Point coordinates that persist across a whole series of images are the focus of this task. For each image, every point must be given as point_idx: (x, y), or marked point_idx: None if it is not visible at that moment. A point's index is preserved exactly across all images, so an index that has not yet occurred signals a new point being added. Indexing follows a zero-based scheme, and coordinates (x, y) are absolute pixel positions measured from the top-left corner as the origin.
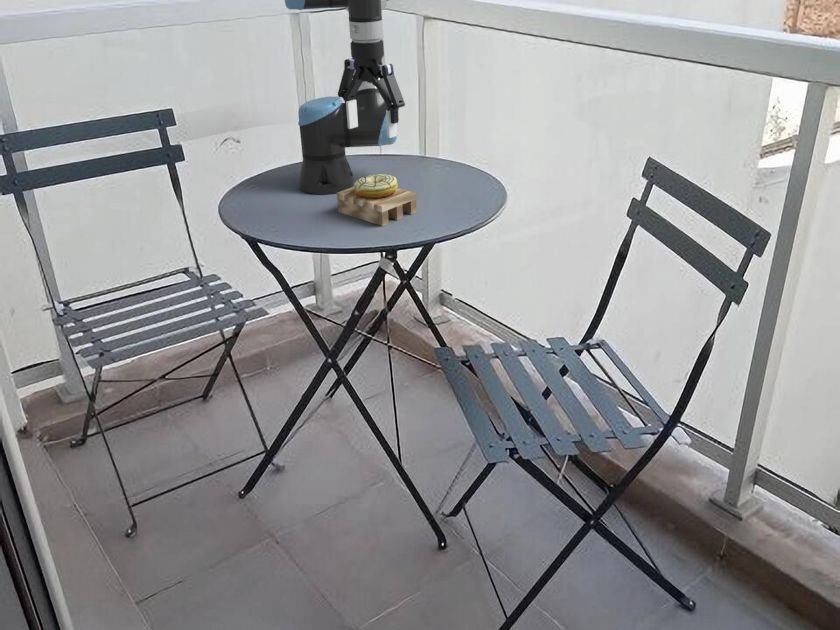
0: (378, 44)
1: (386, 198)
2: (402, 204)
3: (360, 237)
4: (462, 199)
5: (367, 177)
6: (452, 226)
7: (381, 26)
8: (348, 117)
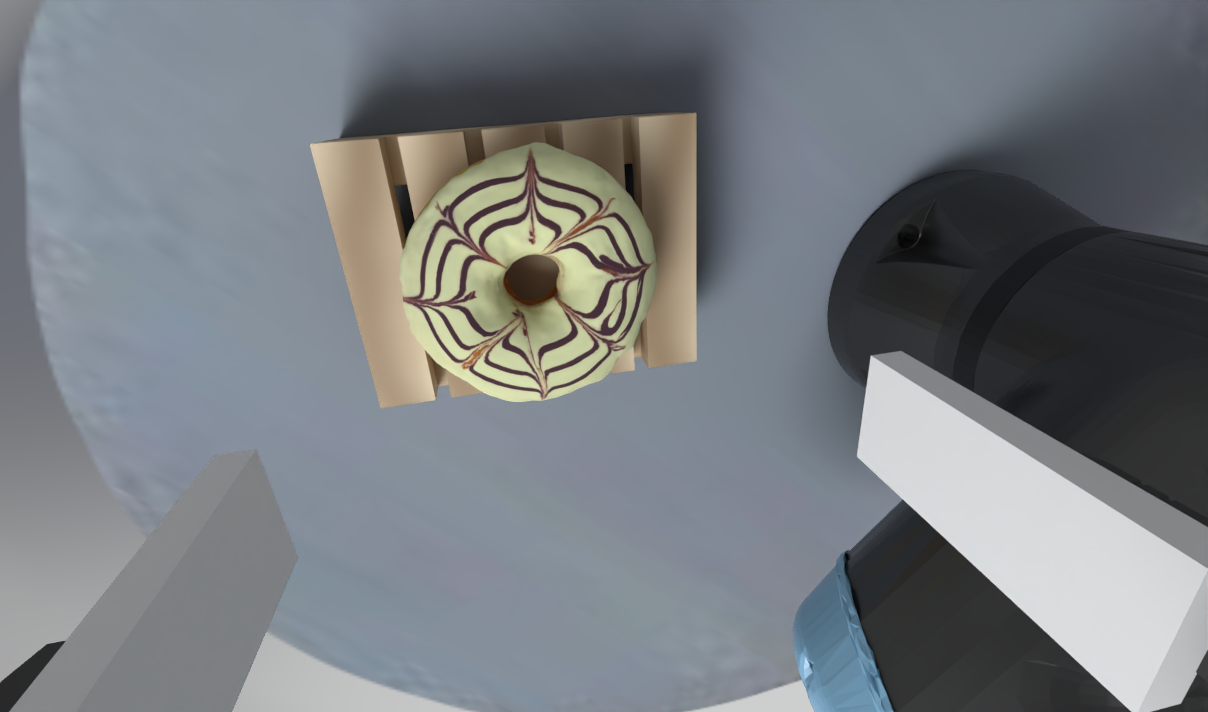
0: None
1: None
2: None
3: None
4: (398, 564)
5: (599, 277)
6: (121, 371)
7: None
8: (978, 413)
